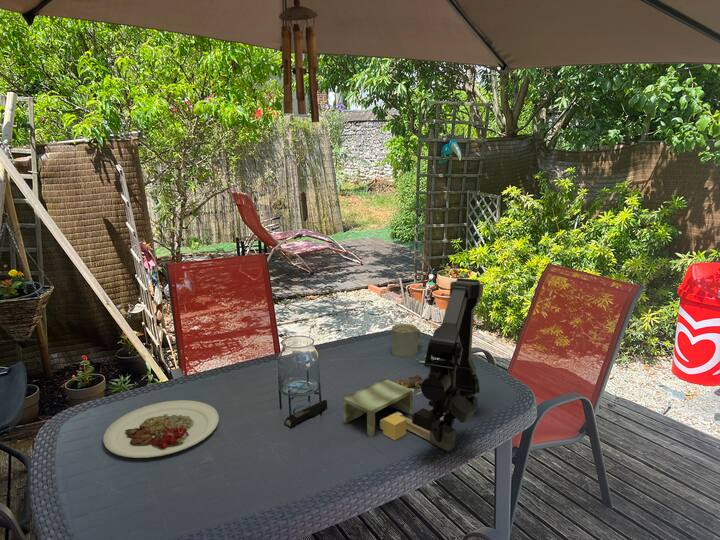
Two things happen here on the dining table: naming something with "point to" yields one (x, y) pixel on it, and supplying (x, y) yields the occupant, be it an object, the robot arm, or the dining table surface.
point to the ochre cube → (394, 426)
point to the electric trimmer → (305, 414)
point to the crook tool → (447, 433)
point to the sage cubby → (376, 401)
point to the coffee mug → (405, 340)
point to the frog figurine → (411, 383)
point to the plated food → (161, 429)
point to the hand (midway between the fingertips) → (442, 439)
